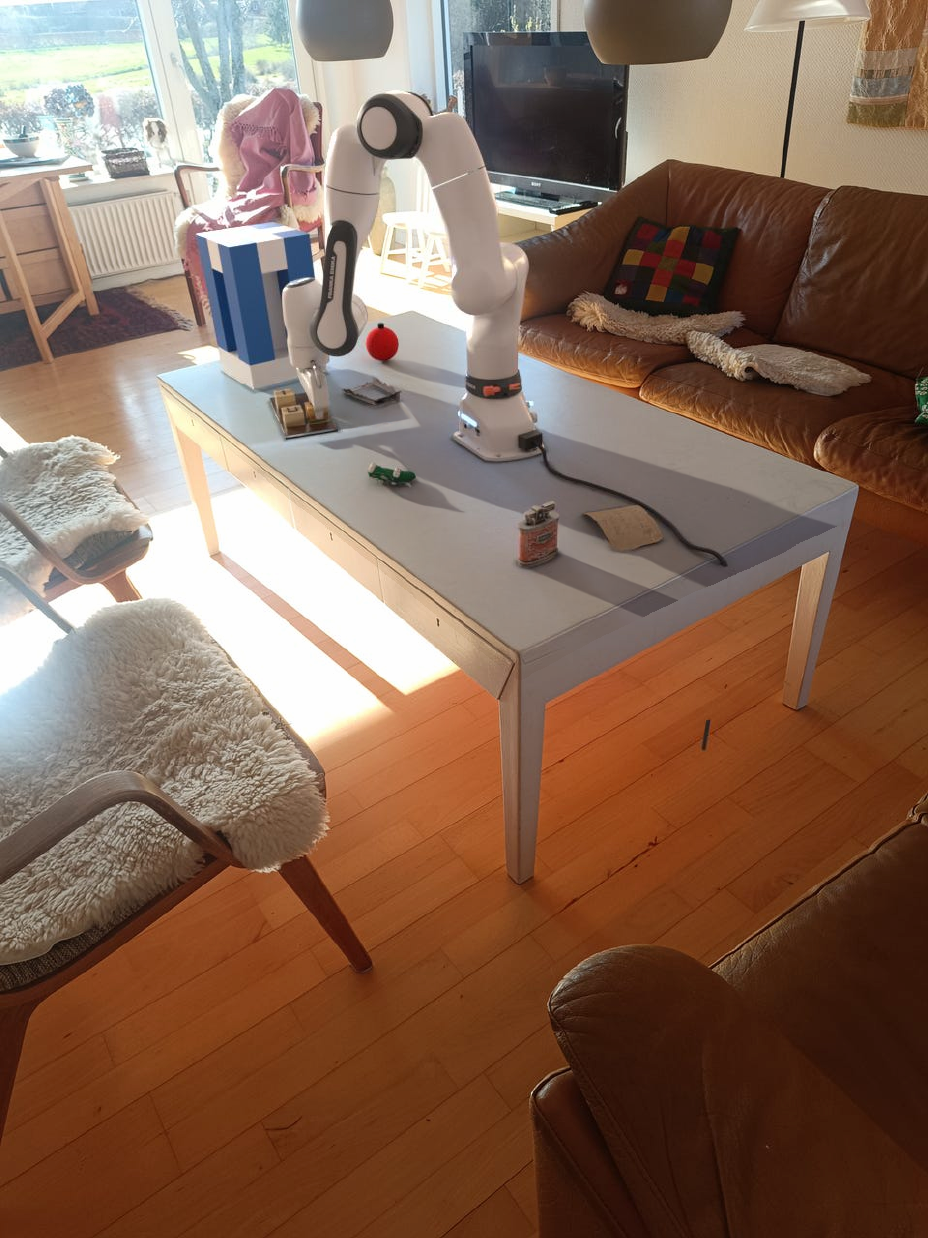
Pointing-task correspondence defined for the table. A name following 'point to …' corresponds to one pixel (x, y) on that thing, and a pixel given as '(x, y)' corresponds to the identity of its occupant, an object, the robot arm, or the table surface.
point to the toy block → (253, 296)
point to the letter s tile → (311, 414)
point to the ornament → (382, 343)
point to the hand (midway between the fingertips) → (316, 413)
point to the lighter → (538, 535)
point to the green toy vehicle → (390, 474)
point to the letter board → (304, 427)
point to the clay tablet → (627, 527)
